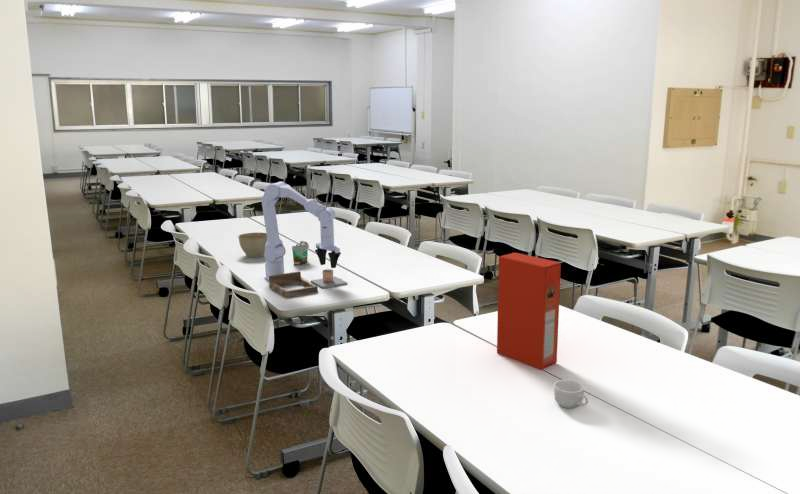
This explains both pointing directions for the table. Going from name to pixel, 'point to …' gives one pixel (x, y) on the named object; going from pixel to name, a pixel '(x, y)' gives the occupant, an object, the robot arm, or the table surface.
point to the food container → (300, 253)
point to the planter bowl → (253, 244)
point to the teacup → (569, 393)
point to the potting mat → (326, 285)
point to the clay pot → (328, 276)
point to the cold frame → (291, 278)
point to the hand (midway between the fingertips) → (328, 266)
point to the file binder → (528, 309)
